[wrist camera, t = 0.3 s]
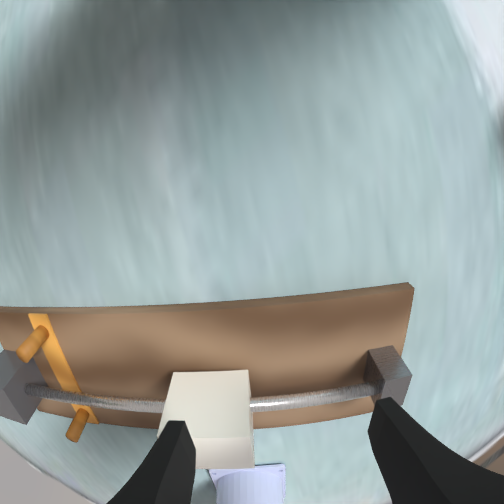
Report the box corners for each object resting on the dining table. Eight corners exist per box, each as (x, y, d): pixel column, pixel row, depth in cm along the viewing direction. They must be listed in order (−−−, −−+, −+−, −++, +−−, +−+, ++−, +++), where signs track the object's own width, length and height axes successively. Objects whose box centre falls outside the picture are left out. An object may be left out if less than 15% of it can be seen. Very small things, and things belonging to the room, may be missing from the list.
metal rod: (381, 367, 22) (402, 405, 18) (51, 377, 22) (30, 409, 18) (387, 337, 21) (412, 374, 17) (38, 351, 21) (14, 382, 17)
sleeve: (252, 405, 20) (254, 468, 15) (184, 407, 20) (173, 467, 15) (248, 369, 19) (249, 436, 14) (173, 372, 19) (156, 436, 14)
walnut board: (382, 401, 23) (399, 436, 19) (42, 404, 23) (25, 433, 19) (408, 282, 19) (440, 313, 15) (-7, 306, 19) (-36, 331, 15)
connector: (49, 388, 21) (26, 424, 16) (21, 382, 21) (-2, 415, 16) (31, 353, 20) (2, 389, 15) (4, 349, 20) (-24, 381, 15)
